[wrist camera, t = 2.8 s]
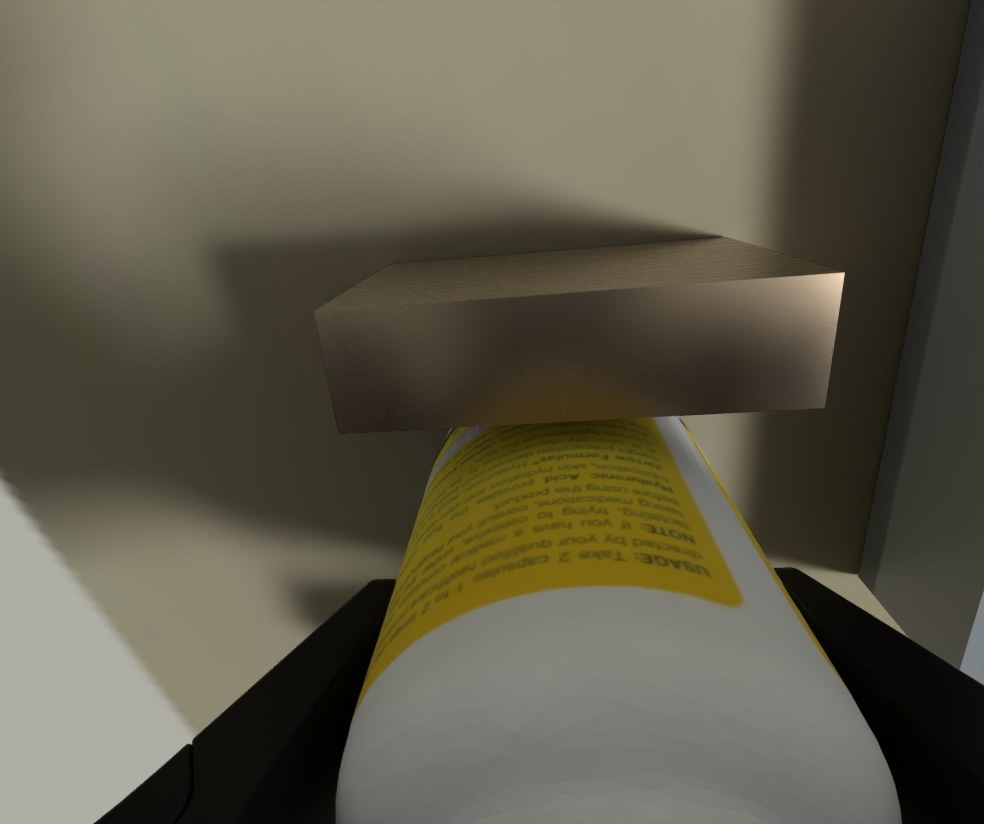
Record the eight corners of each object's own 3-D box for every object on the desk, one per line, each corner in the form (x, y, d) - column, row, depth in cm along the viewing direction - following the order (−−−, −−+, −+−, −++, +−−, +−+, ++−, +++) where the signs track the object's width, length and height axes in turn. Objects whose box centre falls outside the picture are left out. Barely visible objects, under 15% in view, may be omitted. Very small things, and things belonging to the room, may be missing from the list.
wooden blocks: (698, 648, 13) (762, 827, 10) (448, 653, 14) (419, 824, 10) (726, 237, 10) (845, 272, 6) (390, 264, 10) (314, 311, 7)
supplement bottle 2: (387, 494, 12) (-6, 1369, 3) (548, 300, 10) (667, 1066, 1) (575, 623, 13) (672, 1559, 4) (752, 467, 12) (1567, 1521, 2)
